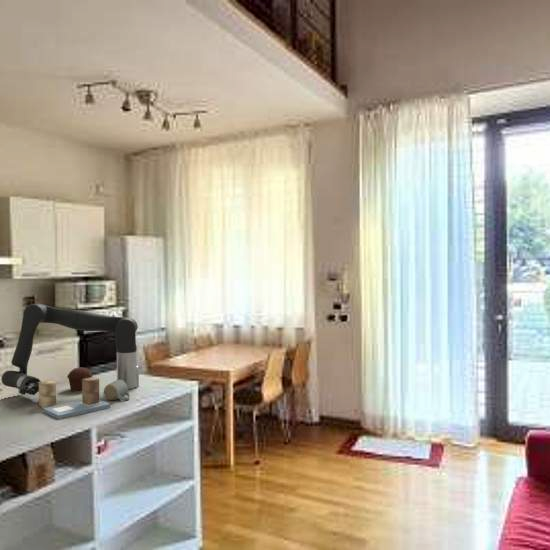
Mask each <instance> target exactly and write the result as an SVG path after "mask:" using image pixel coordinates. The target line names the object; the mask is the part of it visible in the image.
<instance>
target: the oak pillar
mask: <svg viewBox="0 0 550 550" xmlns="http://www.w3.org/2000/svg"><path fill="white" fill-rule="evenodd" d="M56 405H57V383H56V381H54V380H46V381H41V382H39V392H38V407H40V406H41V407H40V408H42V407H43V408H47V407H51V406H56ZM43 408H42V409H43Z"/></svg>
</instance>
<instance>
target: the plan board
mask: <svg viewBox="0 0 550 550" xmlns="http://www.w3.org/2000/svg"><path fill="white" fill-rule="evenodd" d="M99 402H100V403H96V404H91V405H86V404H84V403H82V399H80V400H75V401H71V402H66V403H61V404H58V405H57V404H56V406H51V407H47V408H42V413H44V412H45V414H46V413H47V415H49V416H51V417H53V418H55V419H57V420H61V419H66V418H70V417H74V416H79V415H84V414H87V413H91V412H95V411H96V412H97V411H100V410H106V409H109V408H111V407H112V405H111V403H110V402H108V401H107V402H106V401H104V400H101V399H99Z"/></svg>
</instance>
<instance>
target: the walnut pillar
mask: <svg viewBox="0 0 550 550" xmlns="http://www.w3.org/2000/svg"><path fill="white" fill-rule="evenodd" d="M81 392H82V393H81V394H82V398H81V400H82V403H84V404H86V405H91V404H96V403H100V402H99V400H100V379H99V378H97V377H94V376H92V377H91V378H86V379H82V391H81Z"/></svg>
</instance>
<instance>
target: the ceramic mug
mask: <svg viewBox="0 0 550 550" xmlns="http://www.w3.org/2000/svg"><path fill="white" fill-rule="evenodd" d="M128 390H129V389H128V387H127V384H126V383H125V382H124V381H123V380H117V379H116V380H115V381H113V382H110V383H109V384H106V386H105V387H104V388H103V395H104V397H105V398H106V399H107V400H108V401H115V400H117V399H118V400H121V401H128V400H130V397H131V394H130V393H129V391H128ZM124 396H125V397H124ZM126 396H127V397H126Z"/></svg>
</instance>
